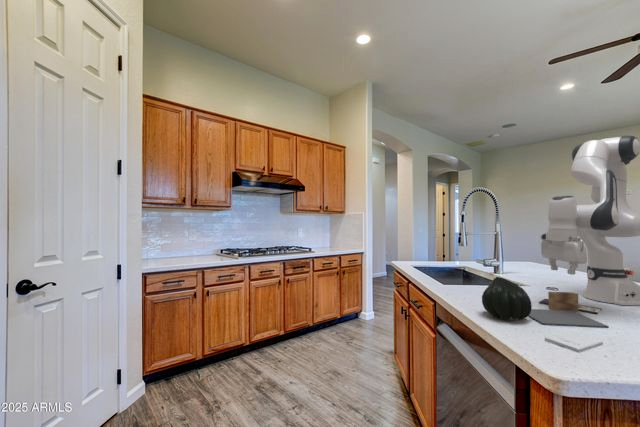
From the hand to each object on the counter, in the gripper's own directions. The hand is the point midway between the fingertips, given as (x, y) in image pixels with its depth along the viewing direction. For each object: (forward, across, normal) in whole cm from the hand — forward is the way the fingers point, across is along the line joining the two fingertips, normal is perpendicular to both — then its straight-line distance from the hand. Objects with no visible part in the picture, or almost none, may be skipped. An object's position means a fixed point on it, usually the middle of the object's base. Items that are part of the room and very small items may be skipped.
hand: (562, 272), depth 113 cm
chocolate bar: (+15, +6, -6) cm, 18 cm away
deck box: (+15, 0, 0) cm, 15 cm away
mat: (+15, -10, +8) cm, 20 cm away
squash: (+16, -12, +26) cm, 33 cm away
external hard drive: (+16, -32, +18) cm, 40 cm away
